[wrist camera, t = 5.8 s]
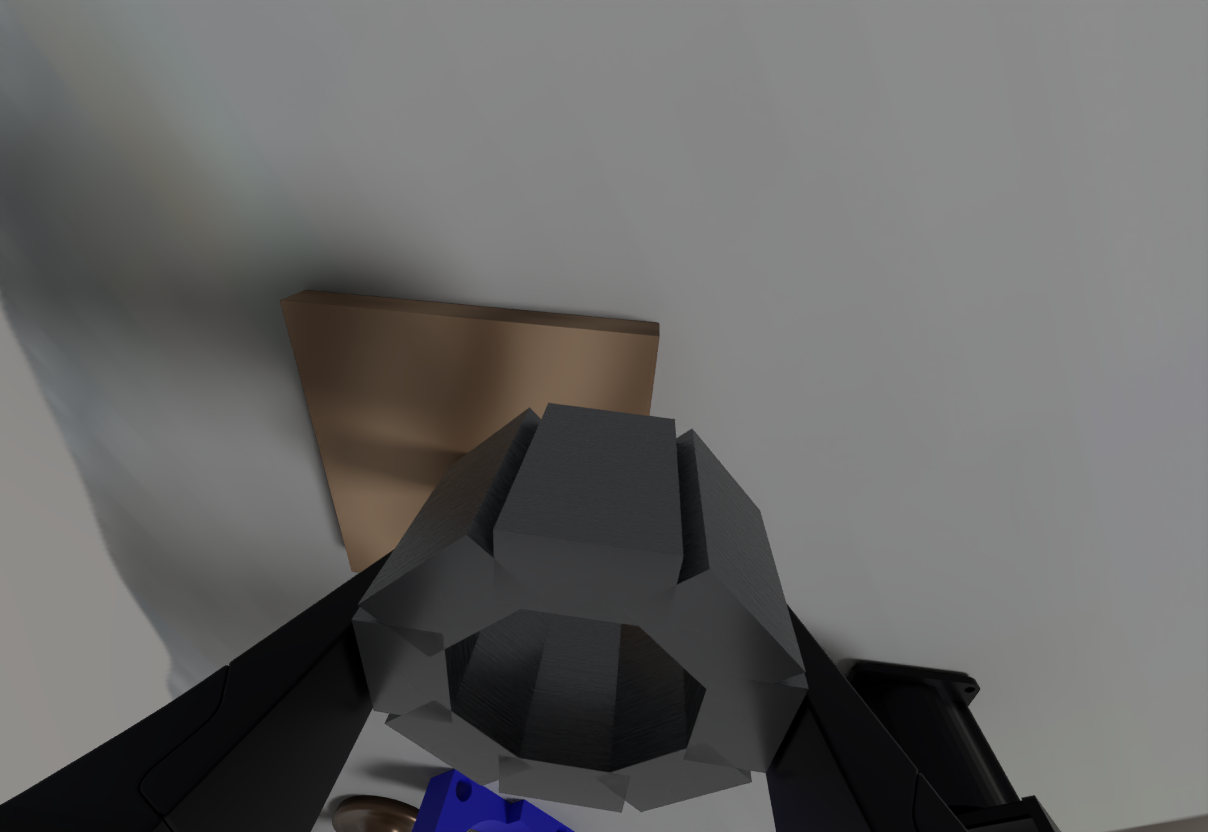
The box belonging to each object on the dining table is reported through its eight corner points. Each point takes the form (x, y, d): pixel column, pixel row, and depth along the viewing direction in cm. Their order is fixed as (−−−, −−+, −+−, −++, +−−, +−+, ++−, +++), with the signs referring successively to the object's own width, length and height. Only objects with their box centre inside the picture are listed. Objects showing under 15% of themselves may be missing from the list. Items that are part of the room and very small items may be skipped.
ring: (792, 434, 9) (863, 581, 6) (716, 662, 12) (736, 831, 9) (434, 387, 9) (324, 505, 6) (454, 622, 13) (389, 774, 9)
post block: (659, 323, 18) (660, 418, 12) (627, 582, 25) (616, 733, 19) (305, 290, 19) (121, 362, 13) (367, 550, 26) (269, 685, 19)
